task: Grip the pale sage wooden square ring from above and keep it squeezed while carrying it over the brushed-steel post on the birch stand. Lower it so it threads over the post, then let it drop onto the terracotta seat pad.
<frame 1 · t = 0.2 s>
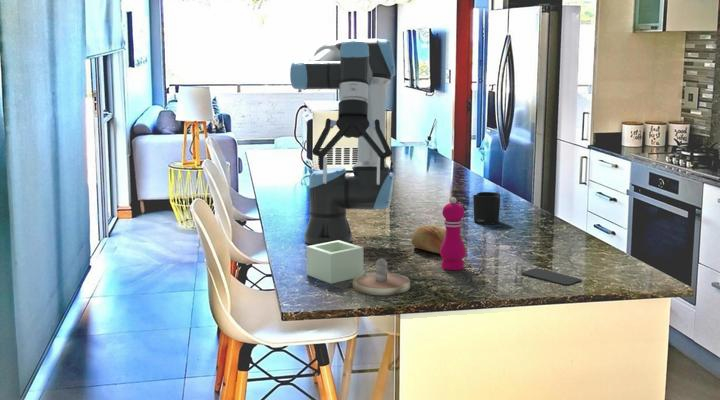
hand: (351, 183, 201), 27 cm above the kitchen island, tool tilted 15°, fingers open, 13 cm apart
pepper mill: (452, 268, 222), on the kitchen island
square ring: (335, 275, 215), on the kitchen island
pen holder: (486, 222, 279), on the kitchen island
phone: (550, 279, 212), on the kitchen island
post stand: (381, 286, 205), on the kitchen island
bread roll: (431, 252, 240), on the kitchen island
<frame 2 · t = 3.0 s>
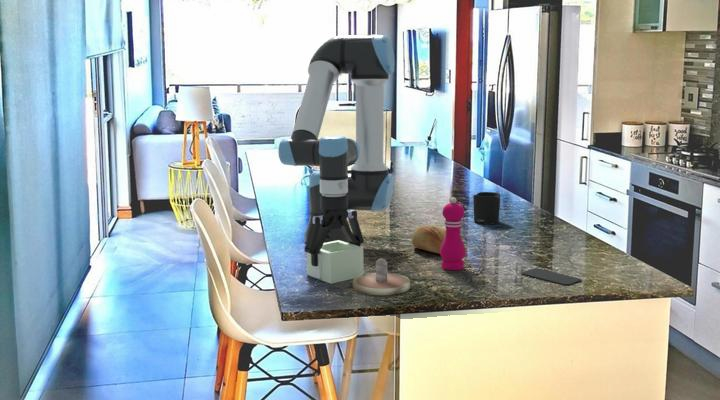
hand: (335, 273, 215), 1 cm above the kitchen island, tool pointing down, fingers closed on square ring, 11 cm apart
square ring: (335, 275, 215), on the kitchen island, touching gripper
everything else where it was.
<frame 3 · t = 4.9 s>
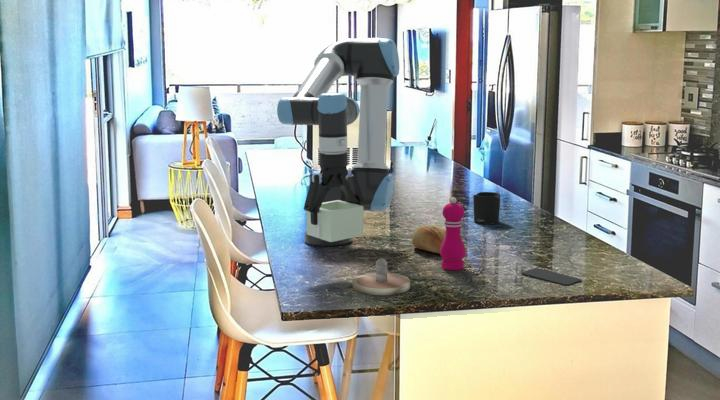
hand: (335, 232, 213), 12 cm above the kitchen island, tool pointing down, fingers closed on square ring, 11 cm apart
square ring: (335, 234, 213), point 11 cm above the kitchen island, touching gripper
everything else where it was.
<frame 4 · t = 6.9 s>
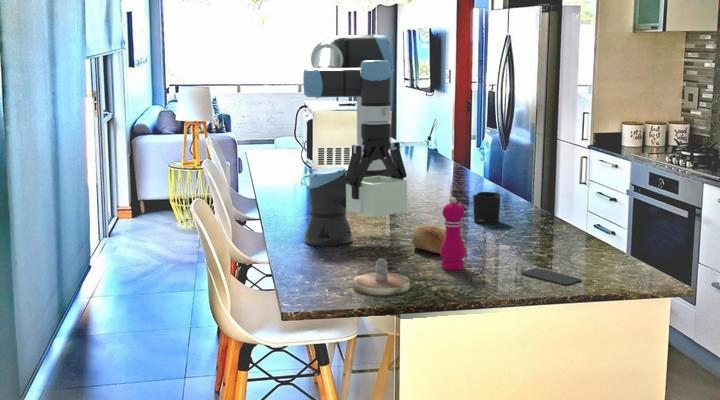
hand: (376, 208, 201), 20 cm above the kitchen island, tool pointing down, fingers closed on square ring, 11 cm apart
square ring: (376, 210, 202), point 20 cm above the kitchen island, touching gripper
everything else where it was.
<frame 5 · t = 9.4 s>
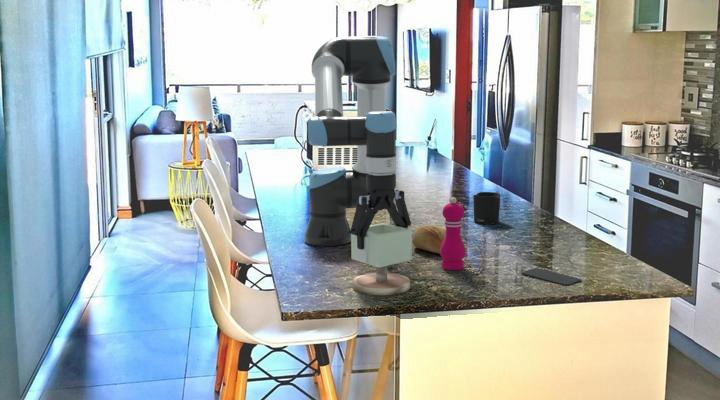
hand: (381, 257, 203), 8 cm above the kitchen island, tool pointing down, fingers closed on square ring, 11 cm apart
square ring: (381, 259, 203), point 7 cm above the kitchen island, touching gripper
everything else where it was.
when the fingers open (4 cm above the kitchen island, at t = 11.1 s): square ring drops 2 cm, resting on post stand.
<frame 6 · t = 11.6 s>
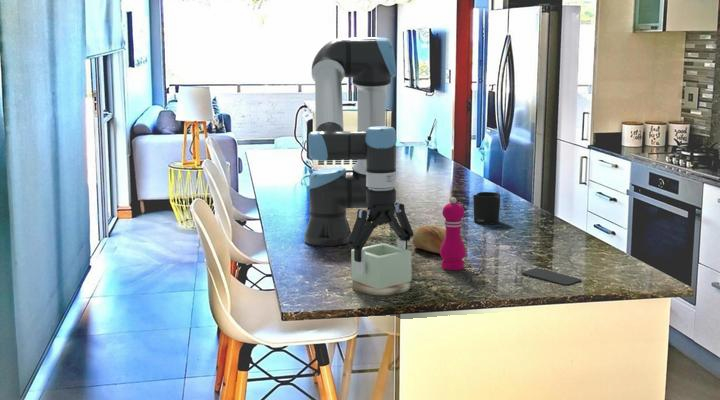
hand: (381, 269, 204), 5 cm above the kitchen island, tool pointing down, fingers open, 13 cm apart
square ring: (381, 280, 204), point 2 cm above the kitchen island, touching post stand
everything else where it was.
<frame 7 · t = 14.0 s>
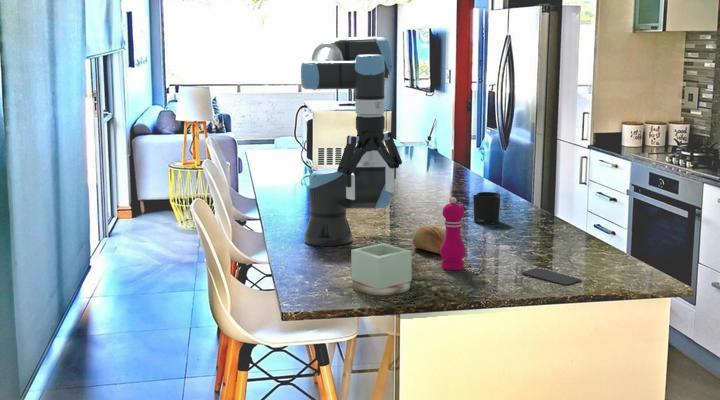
hand: (370, 195, 209), 22 cm above the kitchen island, tool pointing down, fingers open, 13 cm apart
nothing on the kitchen island moved.
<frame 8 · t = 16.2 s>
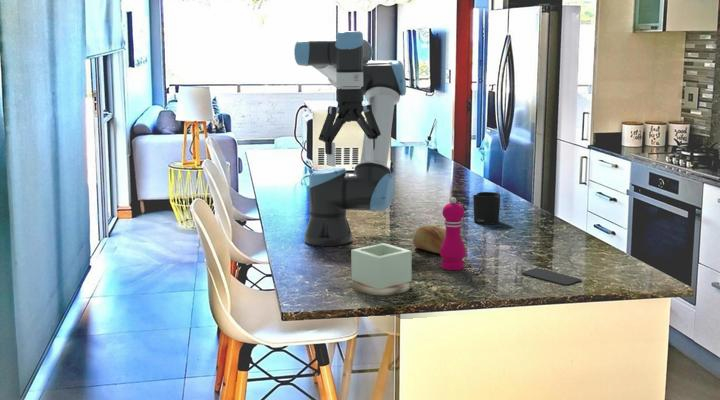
hand: (350, 163, 223), 29 cm above the kitchen island, tool pointing down, fingers open, 13 cm apart
nothing on the kitchen island moved.
at the end: square ring 0.0 cm from the post stand (horizontally); square ring point 1.7 cm above the kitchen island; the gripper is holding nothing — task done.
